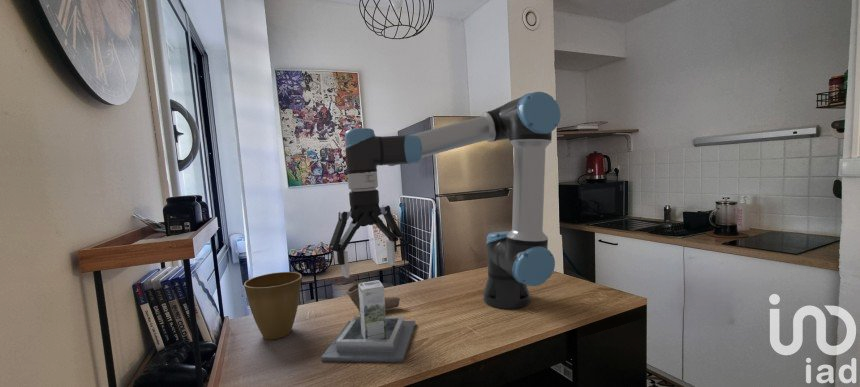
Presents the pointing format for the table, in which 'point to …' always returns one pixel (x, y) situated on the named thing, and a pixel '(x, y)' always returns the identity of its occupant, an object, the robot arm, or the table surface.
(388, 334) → the duct plate
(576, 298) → the table surface
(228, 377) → the table surface
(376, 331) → the syrup box
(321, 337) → the table surface
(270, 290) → the plant pot
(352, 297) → the pipe
